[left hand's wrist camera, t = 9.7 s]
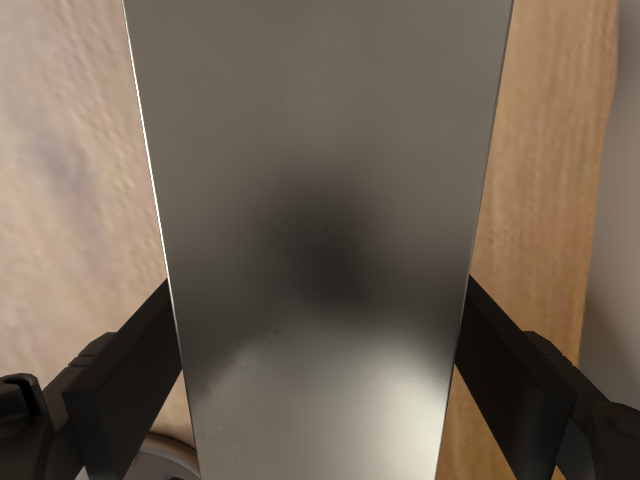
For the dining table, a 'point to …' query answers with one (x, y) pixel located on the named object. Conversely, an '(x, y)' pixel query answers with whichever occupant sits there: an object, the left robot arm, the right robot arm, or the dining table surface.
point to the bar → (317, 219)
